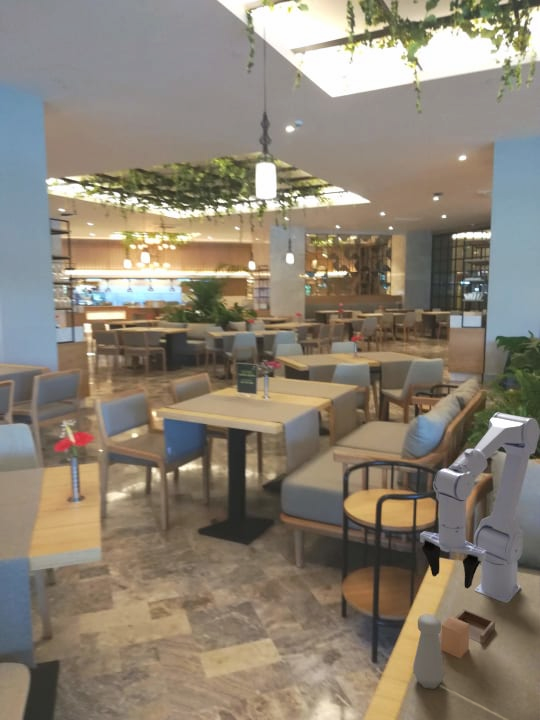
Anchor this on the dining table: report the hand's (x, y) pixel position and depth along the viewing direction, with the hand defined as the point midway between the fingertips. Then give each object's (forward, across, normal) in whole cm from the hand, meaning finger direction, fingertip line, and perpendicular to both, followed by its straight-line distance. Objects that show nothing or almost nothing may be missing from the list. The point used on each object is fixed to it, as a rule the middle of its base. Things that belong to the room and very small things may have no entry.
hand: (451, 580), depth 120 cm
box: (+9, +6, -1) cm, 11 cm away
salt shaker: (+9, +5, -21) cm, 24 cm away
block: (+9, +5, -10) cm, 15 cm away
